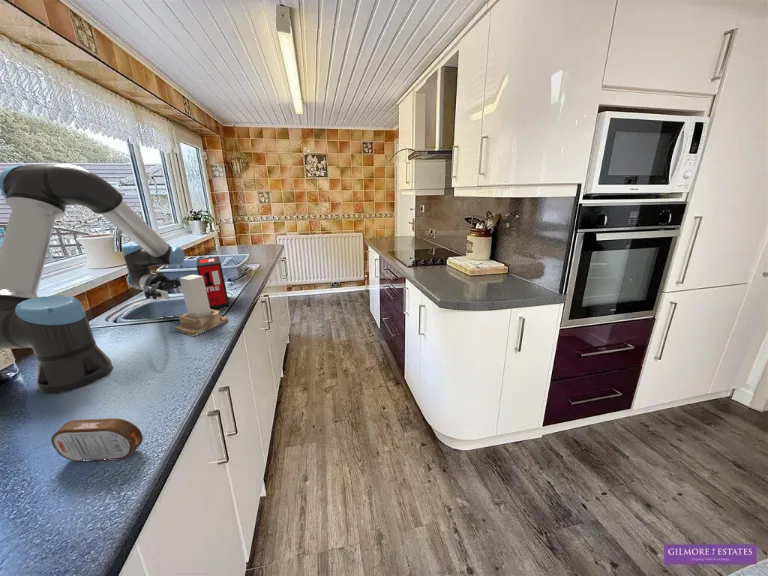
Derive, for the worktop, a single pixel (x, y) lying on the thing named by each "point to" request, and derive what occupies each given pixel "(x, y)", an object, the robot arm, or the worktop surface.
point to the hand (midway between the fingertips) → (186, 289)
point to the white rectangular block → (195, 296)
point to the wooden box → (200, 323)
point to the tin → (97, 439)
